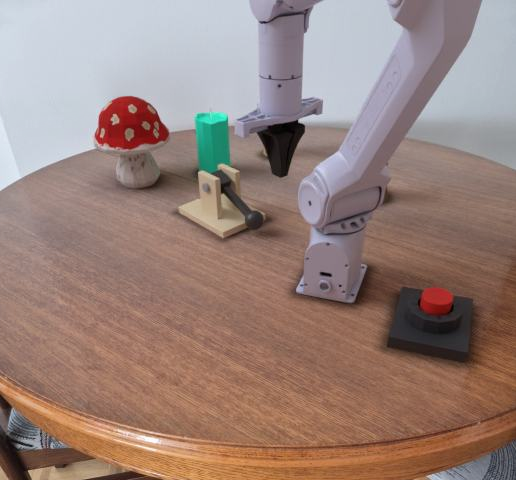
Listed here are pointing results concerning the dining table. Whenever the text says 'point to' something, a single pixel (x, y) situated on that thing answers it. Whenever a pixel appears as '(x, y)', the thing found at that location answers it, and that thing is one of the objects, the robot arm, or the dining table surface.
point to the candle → (212, 140)
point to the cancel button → (436, 301)
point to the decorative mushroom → (132, 139)
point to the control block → (431, 327)
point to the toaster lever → (239, 202)
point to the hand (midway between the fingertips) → (279, 174)
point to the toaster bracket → (217, 204)
